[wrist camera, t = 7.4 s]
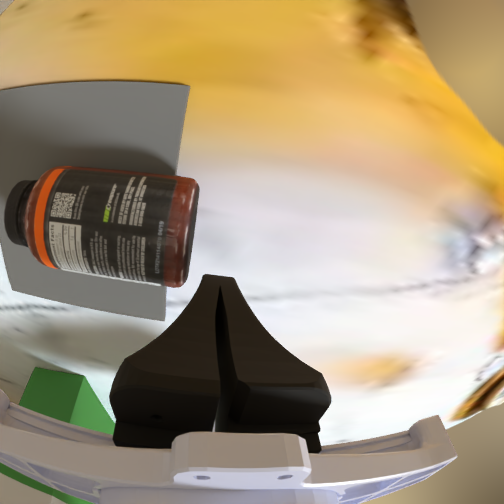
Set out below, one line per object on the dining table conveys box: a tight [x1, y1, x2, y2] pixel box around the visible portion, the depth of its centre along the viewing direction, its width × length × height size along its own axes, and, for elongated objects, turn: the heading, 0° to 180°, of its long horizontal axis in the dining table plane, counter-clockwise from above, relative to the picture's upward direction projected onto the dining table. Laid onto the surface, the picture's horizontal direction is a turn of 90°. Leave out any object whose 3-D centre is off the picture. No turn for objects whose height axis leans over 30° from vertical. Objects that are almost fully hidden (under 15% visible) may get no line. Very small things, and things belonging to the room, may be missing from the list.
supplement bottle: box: [4, 166, 199, 288], centre depth 15 cm, size 6×6×11 cm
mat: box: [0, 81, 190, 321], centre depth 17 cm, size 17×15×1 cm
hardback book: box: [0, 367, 115, 504], centre depth 20 cm, size 18×7×24 cm, turn 178°
